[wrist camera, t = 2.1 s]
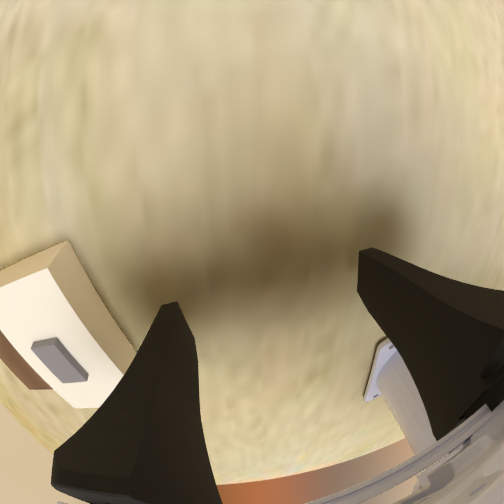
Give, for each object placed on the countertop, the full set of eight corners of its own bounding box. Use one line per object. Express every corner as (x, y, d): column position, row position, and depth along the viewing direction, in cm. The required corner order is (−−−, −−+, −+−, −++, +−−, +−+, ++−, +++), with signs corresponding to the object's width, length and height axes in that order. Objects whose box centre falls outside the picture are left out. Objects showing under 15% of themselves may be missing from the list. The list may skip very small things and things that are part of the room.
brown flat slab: (-12, 264, 8) (-14, 265, 8) (77, 386, 13) (77, 388, 12) (-49, 284, 8) (-50, 285, 7) (30, 387, 12) (29, 389, 12)
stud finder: (71, 235, 9) (42, 274, 7) (151, 365, 13) (149, 409, 11) (1, 267, 9) (-27, 303, 6) (81, 376, 13) (73, 414, 10)
